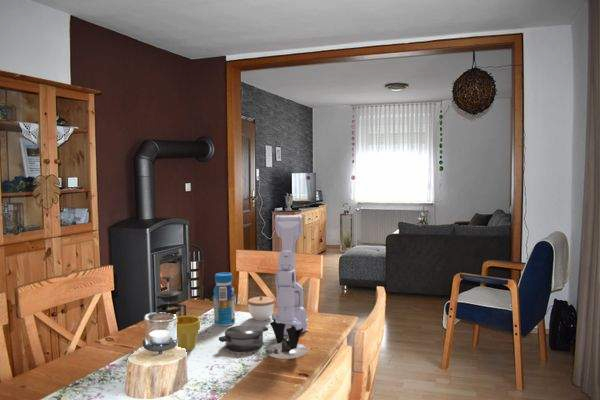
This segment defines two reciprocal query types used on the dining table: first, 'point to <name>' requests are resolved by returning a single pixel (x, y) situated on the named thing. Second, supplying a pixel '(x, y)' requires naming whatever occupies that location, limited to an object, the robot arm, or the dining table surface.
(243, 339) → the cooking pot
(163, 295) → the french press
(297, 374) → the dining table surface
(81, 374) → the dining table surface
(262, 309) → the lidded jar
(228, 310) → the beverage bottle
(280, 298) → the robot arm
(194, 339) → the plant pot
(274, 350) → the lid
